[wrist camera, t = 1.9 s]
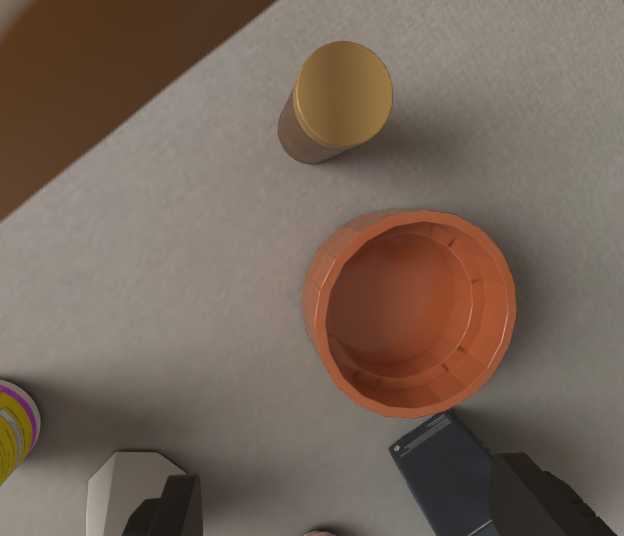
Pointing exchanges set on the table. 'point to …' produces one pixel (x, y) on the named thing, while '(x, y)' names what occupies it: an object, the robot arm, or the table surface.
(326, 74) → the spice jar
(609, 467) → the table surface
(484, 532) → the small box
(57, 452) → the table surface
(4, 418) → the supplement bottle
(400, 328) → the bowl
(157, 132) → the table surface
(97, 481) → the flask
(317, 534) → the macaroon
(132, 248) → the table surface
